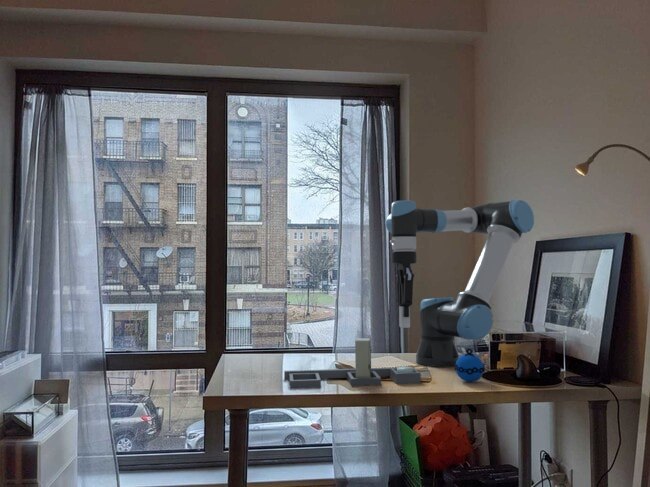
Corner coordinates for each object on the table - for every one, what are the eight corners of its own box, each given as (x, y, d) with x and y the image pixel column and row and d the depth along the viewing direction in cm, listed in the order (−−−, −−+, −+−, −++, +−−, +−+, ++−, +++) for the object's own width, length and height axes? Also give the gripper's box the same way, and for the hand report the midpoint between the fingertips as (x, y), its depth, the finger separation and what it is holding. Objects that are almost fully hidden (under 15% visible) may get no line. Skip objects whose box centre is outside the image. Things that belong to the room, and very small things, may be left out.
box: (369, 384, 145) (369, 341, 146) (355, 383, 146) (354, 340, 147) (371, 379, 151) (371, 338, 151) (357, 379, 151) (357, 337, 152)
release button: (410, 374, 152) (410, 366, 153) (415, 378, 147) (415, 369, 148) (395, 374, 152) (395, 366, 152) (399, 378, 147) (399, 370, 147)
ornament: (455, 384, 145) (454, 350, 145) (455, 377, 153) (454, 345, 153) (485, 386, 142) (485, 352, 143) (483, 379, 151) (483, 346, 151)
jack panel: (403, 375, 156) (403, 367, 156) (412, 383, 145) (412, 375, 145) (284, 378, 152) (284, 370, 152) (284, 388, 142) (284, 379, 142)
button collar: (413, 376, 154) (413, 367, 154) (420, 383, 146) (420, 373, 146) (390, 377, 153) (390, 367, 153) (396, 383, 146) (395, 373, 146)
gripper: (386, 251, 157) (387, 324, 157) (397, 250, 143) (398, 330, 143) (409, 250, 158) (410, 323, 158) (422, 250, 144) (423, 330, 143)
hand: (404, 326), depth 150 cm, fingers closed
